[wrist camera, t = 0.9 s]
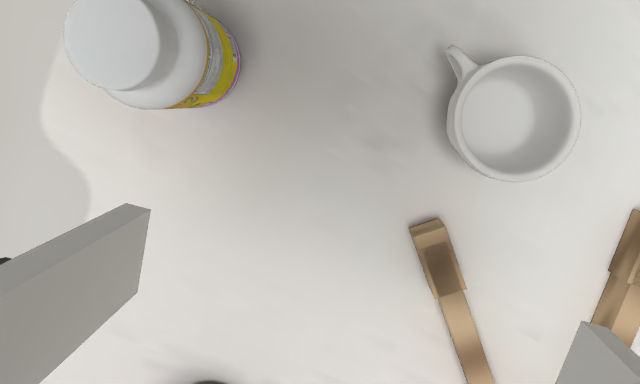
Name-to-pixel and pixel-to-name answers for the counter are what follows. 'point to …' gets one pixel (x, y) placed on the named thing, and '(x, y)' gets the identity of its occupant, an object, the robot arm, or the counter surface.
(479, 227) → the counter surface
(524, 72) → the teacup
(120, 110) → the counter surface
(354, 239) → the counter surface
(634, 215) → the wooden tongs
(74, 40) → the supplement bottle
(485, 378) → the tong arm
